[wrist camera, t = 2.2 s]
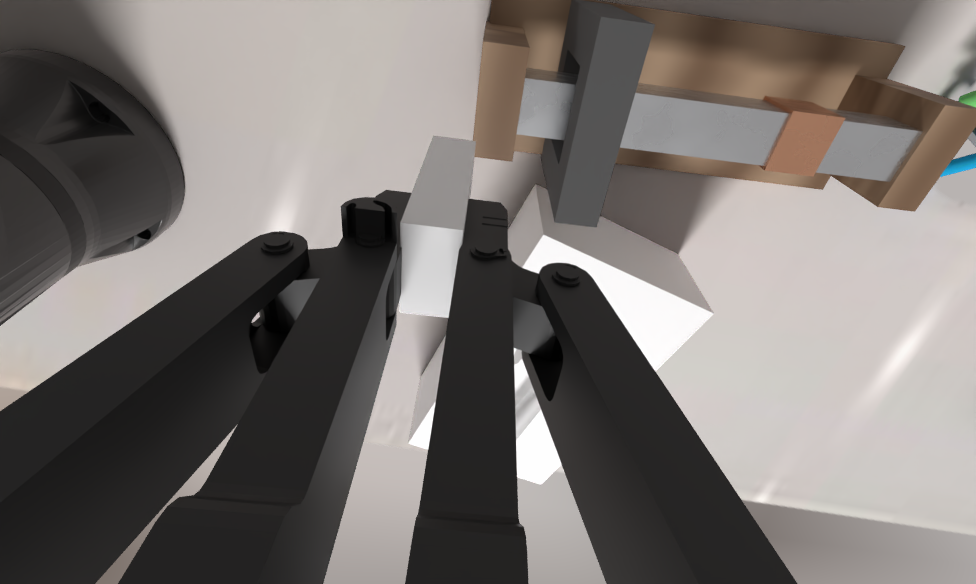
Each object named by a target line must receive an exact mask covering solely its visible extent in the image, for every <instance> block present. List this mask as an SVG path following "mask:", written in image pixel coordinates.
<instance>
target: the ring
mask: <svg viewBox="0 0 976 584" xmlns="http://www.w3.org/2000/svg"><path fill="white" fill-rule="evenodd" d="M654 27H655V24H653V23H651V22H648V21H646V20H644V19H642V18H640V17H637V16H635V15H633V14H631V13H628V12H626V11H624V10H622V9H620V8H617V7H615V6H613V5H611V4H604V3H597V2H591V1H584V0H571V5H570V10H569V15H568V21H567V26H566V31H565V36H564V41H563V47H562V52H561V57H560V62H559V67H558V72H563V73H570V74H578V79H577V84H576V88H575V93H574V97H573V102H572V107H571V111H570V116H569V121H568V125H567V130H566V134H565V139H564V140H557V139H549V138H545V140H544V146H543V151H542V156H541V161H542V166H543V171H544V176H545V180H546V185H547V190H548V195H549V199H550V204H551V209H552V214H553V218H554V223H562V224H571V225H579V226H588V227H596V228H597V224H598V221H599V217H600V214H601V210H602V207H603V204H604V200H605V197H606V193H607V190H608V186H609V183H610V179H611V176H612V172H613V169H614V165H615V162H616V159H617V155H618V152H619V148H620V145H621V141H622V138H623V134H624V131H625V127H626V124H627V120H628V117H629V114H630V110H631V107H632V103H633V100H634V96H635V93H636V89H637V86H638V82H639V79H640V75H641V72H642V68H643V65H644V62H645V58H646V55H647V51H648V48H649V44H650V41H651V37H652V34H653V30H654Z"/></svg>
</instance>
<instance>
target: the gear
mask: <svg viewBox="0 0 976 584" xmlns="http://www.w3.org/2000/svg"><path fill="white" fill-rule="evenodd" d="M958 102H961V103H964V104H967V105H970V106H973V107H976V91H973V92H970V93H968V94H965V95H962V96H960V98H959V101H958ZM968 139H969V140H970V141H971V142H972V143H973V144H974V146H975V147H976V127H975V129H974V130H973V131H972V133H971V134H970V136H969V137H968ZM973 168H976V153H975V154H971V155H968V156H965V157H961V158H957V159H953V160H952V161H951V162H950V163H949V165H948V166H947V167H946V169H945V170H944V172H943V173H942V174H941V176H940V177H942V176H946V175H950V174H954V173H957V172H961V171H965V170H969V169H973Z"/></svg>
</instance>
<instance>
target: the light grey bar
mask: <svg viewBox="0 0 976 584" xmlns="http://www.w3.org/2000/svg"><path fill="white" fill-rule="evenodd" d="M577 79H578V74H570V73H563V72H556V71H548V70H541V69H533V68H527V69H526V75H525V82H524V88H523V95H522V101H521V108H520V114H519V121H518V127H517V133H516V134H518V135H526V136H534V137H542V138H549V139H557V140H564V139H565V134H566V130H567V125H568V121H569V116H570V111H571V107H572V102H573V97H574V93H575V88H576V84H577ZM922 132H923V131H920V130H918V129H916V128H913V127H911V126H908V125H906V124H904V123H901V122H899V121H896V120H894V119H892V118H889V117H887V116H880V115H872V114H865V113H857V112H850V111H843V110H835V109H828V108H824V107H821V106H819V105H817V104H815V103H813V102H808V101H801V100H793V99H786V98H779V97H771V96H764V98H763V100H762V99H754V98H747V97H740V96H732V95H725V94H718V93H710V92H703V91H695V90H688V89H681V88H673V87H666V86H659V85H651V84H644V83H638V86H637V89H636V93H635V96H634V100H633V103H632V107H631V110H630V114H629V117H628V120H627V124H626V127H625V131H624V134H623V138H622V141H621V145H620V148H628V149H636V150H644V151H651V152H659V153H667V154H675V155H683V156H691V157H698V158H706V159H714V160H722V161H730V162H738V163H745V164H753V165H759V166H760V167H761V168H762V169H763V170H765V171H773V172H781V173H789V174H796V175H804V176H812V177H813V176H814V174H815V173H824V174H832V175H840V176H847V177H855V178H863V179H871V180H879V181H887V182H890V181H891V179H892V178H893V176H894V175H895V173H896V172H897V170H898V169H899V167H900V166H901V164H902V162H903V161H904V159H905V158H906V156H907V155H908V153H909V152H910V150H911V149H912V147H913V146H914V144H915V143H916V141H917V140H918V138H919V137H920V135H921V134H922Z"/></svg>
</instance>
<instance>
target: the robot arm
mask: <svg viewBox="0 0 976 584" xmlns="http://www.w3.org/2000/svg"><path fill="white" fill-rule="evenodd" d="M475 147H476V141H470V140H463V139H455V138H447V137H439V136H433V139H432V141H431V144H430V146H429V149H428V152H427V154H426V157H425V160H424V162H423V165H422V167H421V170H420V173H419V175H418V178H417V180H416V183H415V186H414V188H413V191H412V193H407V192H399V191H391V190H386V191H384V192H382V193H381V194H379V195H377V196H376V197H375V198H368V197H363V198H356V199H352V200H349V201H347V202H345V203H344V204H343V205H342V206H341V216H342V231H343V238H342V239H341V241H340V243H339V245H338V246H337V247H333V248H325V249H310V250H308V245H307V241H306V240H305V239H304V238H303V237H302V236H300V235H297V234H295V233H289V232H280V231H279V232H271V233H267V234H263V235H260V236H258V237H256V238H254V239H252V240H250V241H249V242H248V243H246V244H245V245H243V246H242V247H240V248H239V249H237V250H236V251H234V252H233V253H231V254H230V255H228V256H227V257H226V258H224V259H223V260H221V261H220V262H218V263H217V264H215V265H214V266H212V267H211V268H209V269H208V270H207V271H205V272H204V273H202V274H201V275H199V276H198V277H196V278H195V279H193V280H192V281H190V282H189V283H187V284H186V285H185V286H183V287H182V288H180V289H179V290H177V291H176V292H174V293H173V294H171V295H170V296H168V297H167V298H166V299H164V300H163V301H161V302H160V303H158V304H157V305H155V306H154V307H152V308H151V309H149V310H148V311H146V312H145V313H144V314H142V315H141V316H139V317H138V318H136V319H135V320H133V321H132V322H130V323H129V324H127V325H126V326H125V327H123V328H122V329H120V330H119V331H117V332H116V333H114V334H113V335H111V336H110V337H108V338H107V339H105V340H104V341H103V342H101V343H100V344H98V345H97V346H95V347H94V348H92V349H91V350H89V351H88V352H86V353H85V354H84V355H82V356H81V357H79V358H78V359H76V360H75V361H73V362H72V363H70V364H69V365H67V366H66V367H64V368H63V369H62V370H60V371H59V372H57V373H56V374H54V375H53V376H51V377H50V378H48V379H47V380H45V381H44V382H43V383H41V384H40V385H38V386H37V387H35V388H34V389H32V390H31V391H29V392H28V393H27V394H25V395H23V396H22V397H21V398H19V399H18V400H16V401H15V402H13V403H12V404H10V405H9V406H7V407H6V408H4V409H3V410H2V411H0V584H95V583H96V582H97V581H98V580H99V579H100V578H101V576H102V575H103V574H104V573H105V572H106V571H107V570H108V568H109V567H110V566H111V565H112V564H113V563H114V562H115V561H116V560H117V558H118V557H119V556H120V555H121V554H122V553H123V551H125V550H126V548H127V547H128V546H129V545H130V544H131V543H132V542H133V541H134V539H135V538H136V537H137V536H138V535H139V534H140V533H141V531H143V529H144V528H145V527H146V526H147V525H148V524H149V523H150V522H151V520H152V519H153V518H154V517H155V516H156V515H157V514H158V513H159V511H160V510H161V509H162V508H163V507H164V506H165V505H166V503H168V501H169V500H170V499H171V498H172V497H173V496H174V495H175V493H176V492H177V491H178V490H179V489H180V488H181V487H182V486H183V485H184V483H185V482H186V481H187V480H188V479H189V478H190V477H191V476H192V474H193V473H194V472H195V471H196V470H197V469H198V468H199V467H200V466H201V464H202V463H203V462H204V461H205V460H206V459H207V458H208V457H209V456H210V454H211V453H212V452H213V451H214V450H215V449H216V447H218V445H219V444H220V443H221V442H222V441H223V440H224V439H225V438H226V436H227V435H228V434H229V433H230V432H231V431H232V430H233V429H234V428H235V426H236V425H237V424H238V425H237V427H236V429H235V430H234V432H233V434H232V436H231V437H230V440H229V441H228V443H227V445H226V447H225V448H224V450H223V452H222V454H221V455H220V457H219V459H218V461H217V462H216V464H215V466H214V468H213V470H212V471H211V473H210V475H209V477H208V479H207V480H206V482H205V483H204V485H203V486H202V488H201V489H200V491H199V492H197V493H196V494H195V495H192V496H185V497H179V498H177V499H176V500H175V501H174V502H172V503H171V504H170V505H169V506H167V508H166V509H165V510H164V512H163V513H162V514H161V516H160V517H159V518H158V520H157V521H156V522H155V524H154V526H153V527H152V529H151V530H150V532H149V534H148V535H147V537H146V539H145V541H144V542H143V544H142V545H141V547H140V549H139V550H138V552H137V553H136V555H135V557H134V558H133V560H132V562H131V564H130V565H129V567H128V568H127V570H126V572H125V573H124V575H123V577H122V578H121V580H120V581H119V583H118V584H323V582H324V578H325V575H326V571H327V568H328V564H329V561H330V557H331V554H332V550H333V547H334V543H335V539H336V536H337V533H338V529H339V526H340V521H341V518H342V515H343V511H344V508H345V504H346V500H347V497H348V494H349V490H350V487H351V483H352V479H353V476H354V472H355V469H356V465H357V462H358V458H359V455H360V451H361V447H362V444H363V441H364V437H365V434H366V430H367V427H368V423H369V419H370V416H371V412H372V409H373V405H374V402H375V398H376V395H377V391H378V388H379V384H380V381H381V377H382V373H383V370H384V366H385V363H386V359H387V356H388V352H389V349H390V345H391V342H392V338H393V335H394V331H395V328H396V309H397V306H398V303H399V313H408V314H417V315H426V316H435V317H444V318H448V324H447V331H446V337H445V344H444V350H443V357H442V363H441V370H440V376H439V383H438V390H437V396H436V403H435V409H434V416H433V422H432V429H431V435H430V442H429V448H428V455H427V461H426V468H425V474H424V481H423V488H422V494H421V501H420V507H419V512H418V515H417V517H416V521H415V526H414V532H413V538H412V544H411V550H410V556H409V563H408V569H407V576H406V582H405V584H528V564H527V546H526V535H525V531H524V527H523V526H522V525H521V524H520V523H519V519H518V498H517V497H518V496H517V455H516V415H515V374H514V348H516V349H518V350H521V351H522V352H521V353H522V360H523V363H524V365H525V368H526V371H527V373H528V376H529V379H530V381H531V384H532V387H533V389H534V392H535V395H536V397H537V400H538V403H539V405H540V408H541V411H542V413H543V416H544V419H545V421H546V424H547V426H548V429H549V432H550V434H551V437H552V440H553V442H554V445H555V448H556V450H557V453H558V456H559V458H560V461H561V464H562V466H563V469H564V472H565V474H566V477H567V479H568V482H569V485H570V488H571V490H572V493H573V496H574V498H575V501H576V504H577V506H578V508H579V512H580V514H581V517H582V520H583V522H584V525H585V527H586V530H587V533H588V535H589V538H590V541H591V543H592V546H593V549H594V551H595V554H596V556H597V559H598V562H599V565H600V567H601V570H602V573H603V575H604V578H605V581H606V583H607V584H797V583H796V581H795V579H794V578H793V576H792V575H791V573H790V572H789V570H788V569H787V568H786V566H785V564H784V563H783V562H782V560H781V559H780V557H779V556H778V554H777V553H776V551H775V550H774V548H773V547H772V545H771V544H770V542H769V541H768V539H767V538H766V536H765V535H764V533H763V532H762V530H761V529H760V527H759V526H758V524H757V523H756V521H755V520H754V518H753V517H752V515H751V514H750V512H749V511H748V509H747V508H746V506H745V505H744V503H743V502H742V500H741V499H740V497H739V496H738V494H737V493H736V491H735V490H734V488H733V487H732V485H731V484H730V482H729V481H728V479H727V478H726V476H725V475H724V473H723V472H722V470H721V469H720V467H719V466H718V464H717V463H716V461H715V460H714V458H713V457H712V455H711V454H710V452H709V451H708V449H707V448H706V447H705V445H704V444H703V442H702V441H701V439H700V438H699V436H698V435H697V433H696V432H695V430H694V429H693V427H692V426H691V424H690V423H689V421H688V420H687V418H686V417H685V415H684V414H683V412H682V411H681V409H680V408H679V406H678V405H677V403H676V402H675V400H674V399H673V397H672V396H671V394H670V393H669V391H668V390H667V388H666V387H665V385H664V384H663V382H662V381H661V379H660V378H659V376H658V375H657V373H656V372H655V370H654V369H653V367H652V366H651V364H650V363H649V361H648V360H647V358H646V357H645V355H644V354H643V352H642V351H641V349H640V348H639V347H638V345H637V344H636V342H635V341H634V339H633V338H632V336H631V335H630V333H629V332H628V330H627V329H626V327H625V326H624V324H623V323H622V321H621V320H620V318H619V317H618V315H617V314H616V312H615V311H614V309H613V308H612V306H611V305H610V303H609V302H608V300H607V299H606V297H605V296H604V294H603V293H602V291H601V290H600V288H599V287H598V285H597V284H596V282H595V281H594V279H593V278H592V277H591V276H590V275H589V274H588V273H587V272H586V271H585V270H583V269H581V268H579V267H578V266H575V265H573V264H572V265H571V264H569V263H558V262H557V263H550V264H547V265H545V266H543V267H542V268H541V270H540V272H539V274H538V273H535V272H532V271H529V270H527V269H524V268H522V267H520V266H518V265H517V264H516V263H514V262H513V261H512V256H511V253H510V251H509V250H508V228H507V227H508V222H507V210H506V209H505V208H504V206H503V205H502V204H501V203H499V202H491V201H483V200H474V199H470V194H471V184H472V175H473V166H474V156H475ZM183 200H184V180H183V174H182V170H181V167H180V163H179V161H178V158H177V155H176V153H175V151H174V149H173V147H172V145H171V143H170V141H169V140H168V138H167V136H166V135H165V133H164V132H163V130H162V129H161V127H160V126H159V125H158V123H157V122H156V121H155V119H154V118H153V117H152V116H151V115H150V113H149V112H148V111H147V110H146V109H145V108H144V107H143V106H142V105H141V104H140V103H139V102H138V101H137V100H136V99H135V98H134V97H133V96H132V95H130V94H129V93H128V92H127V91H126V90H124V89H123V88H122V87H121V86H119V85H118V84H117V83H115V82H114V81H112V80H111V79H110V78H108V77H106V76H105V75H103V74H102V73H100V72H98V71H96V70H95V69H93V68H91V67H89V66H87V65H85V64H83V63H81V62H78V61H76V60H74V59H71V58H68V57H65V56H62V55H59V54H55V53H51V52H47V51H41V50H31V49H21V50H12V51H6V52H1V53H0V326H1V325H2V324H3V323H4V322H6V321H7V320H8V319H10V318H11V317H12V316H13V315H15V314H16V313H17V312H19V311H20V310H21V309H22V308H24V307H25V306H26V305H28V304H29V303H30V302H32V301H33V300H34V299H35V298H37V297H38V296H39V295H41V294H42V293H43V292H44V291H46V290H47V289H48V288H50V287H51V286H52V285H53V284H55V283H56V282H57V281H59V280H60V279H61V278H62V277H64V276H65V275H66V274H68V273H69V272H71V271H72V270H73V269H75V268H76V267H78V266H82V265H85V264H89V263H92V262H96V261H99V260H102V259H106V258H109V257H113V256H116V255H119V254H123V253H126V252H130V251H133V250H136V249H138V248H141V247H143V246H145V245H147V244H148V243H150V242H152V241H153V240H154V239H155V238H157V237H158V236H159V235H160V234H162V233H163V232H164V231H165V230H166V229H168V228H169V227H170V226H171V225H172V224H173V223H174V221H175V220H176V218H177V217H178V215H179V213H180V211H181V208H182V205H183ZM258 312H259V314H260V317H259V318H258V319H257V320H256V321H255V322H253V323H251V322H252V319H253V318H254V317H255V316H256V314H257V313H258Z"/></svg>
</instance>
